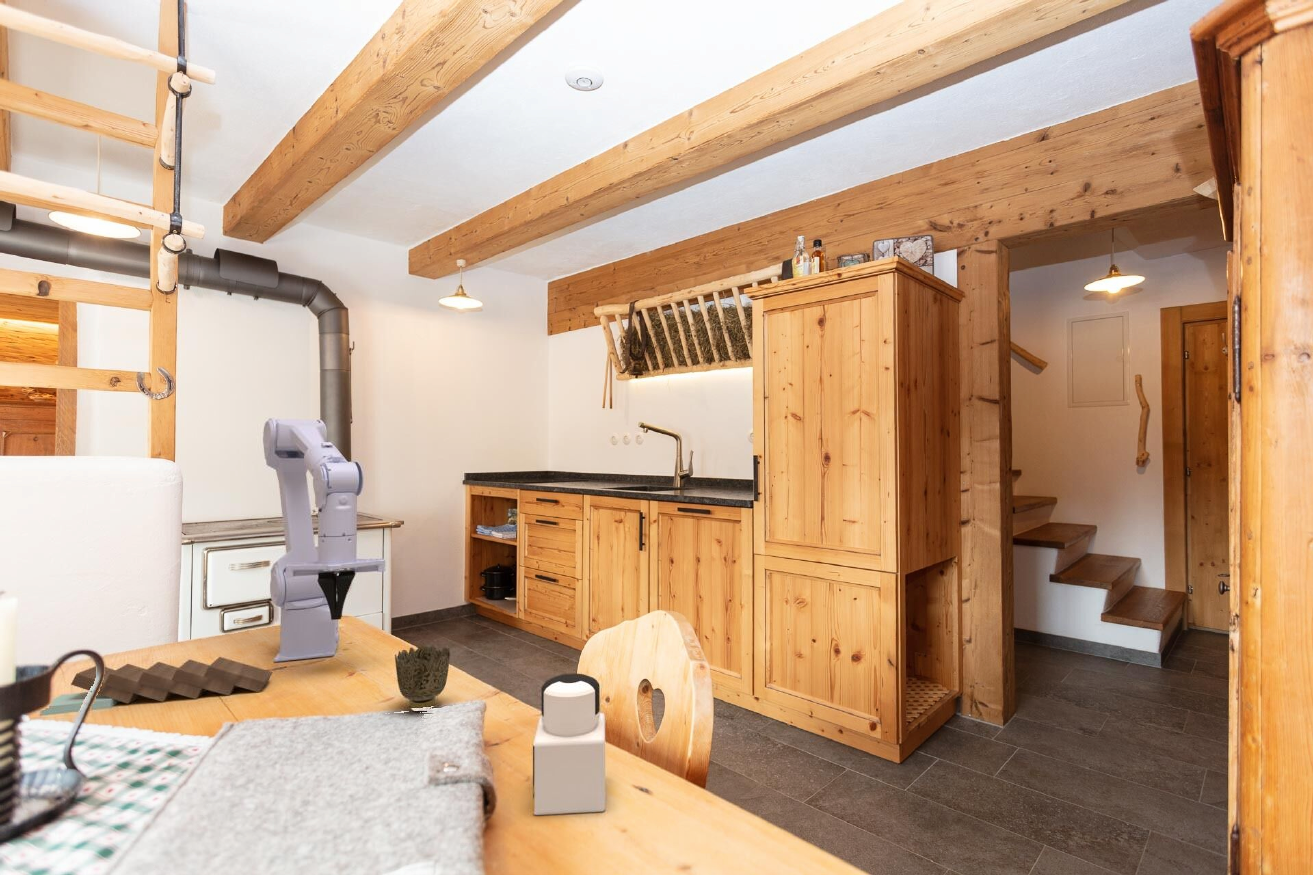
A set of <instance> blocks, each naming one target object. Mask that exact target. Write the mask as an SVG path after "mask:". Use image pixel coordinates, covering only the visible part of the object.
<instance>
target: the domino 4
mask: <svg viewBox="0 0 1313 875" xmlns="http://www.w3.org/2000/svg"><path fill="white" fill-rule="evenodd" d="M178 668H179V667H178V666H174V665H170V664H167V663H163V662H160V661H158V662H156V663H154V664H153V665H151V666H150V667H148V668H147V670H145V671H144V672H143V673H142V675H141V677H140V679H139V681H138V683H141V684H144V685H148V686H151V687H155V688H158V689H162V690H165V691H169V692H173V693H174V694H177V695H180V696H182V697H183V696H184V697H187V698H191V699H195V700H197V699H198V698H199V697H200V696H201V695H202V694H204V693H205V692H206V691H208V690H207V689H203V688H199V687H196V686H192V685H188V684H185V683H181V682H178V681H174V680H172V678H173V676H174V674H175V672H176V670H177V669H178Z"/></svg>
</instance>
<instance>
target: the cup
mask: <svg viewBox="0 0 1313 875" xmlns="http://www.w3.org/2000/svg"><path fill="white" fill-rule="evenodd" d="M451 652H452V649H451V647H448V646H447V645H444V646H443V647H442V649H437V646H436V645H434V644H432V645H431V646H430V647H429V646H428V645H424V644H421V645H419V647H418V648H417V649H415V648H413V647H410V648H409V652H408V651H407V650H405V649H403V650H401V651H400V650H399V651H398V654H396V653H395V655H394V660H395V669H396V678H397V679H396V680H397V684H398V688H399V691H400V694H401V695H402V697H403V698H405V699H406V700H409V701H408V702H409V703H408V707H409V709H410V708H423V707H431V706H435V707H436V704H437V697H438V696H439V695H441V693H442V692H443V691H444V689H445V687H446V684H447V680H448V675H449V668H450V658H451Z"/></svg>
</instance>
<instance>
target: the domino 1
mask: <svg viewBox="0 0 1313 875" xmlns="http://www.w3.org/2000/svg"><path fill="white" fill-rule="evenodd" d="M88 692H89V691H85V692H84V691H83V692H75V693H64V694H60V695H58V696H57V697H55V698H53V699H52V700H51V701H52V703H51V705H50V706H49V708H46V709H45V710H42V711H41V710H40V716H51V715H59V714H69V713H79V712H78V711H79V710H80V708H81V705H82V704H83V701H84V699H85V697H86V696H87V694H88ZM120 702H121V701H119V700H116V699H113V698H110V697H107V696H104V695H101V694H98V695H97V696H96V699H95V701H94V704H93V705H92V706H91V710H90V711H97V710H98V711H99V710H106V709H112V708H113V707H115V705H117V704H119V703H120Z"/></svg>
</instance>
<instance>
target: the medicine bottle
mask: <svg viewBox="0 0 1313 875" xmlns="http://www.w3.org/2000/svg"><path fill="white" fill-rule="evenodd" d="M600 685H601V684H600V683H599V681H597V679H596V678H594V677H592V676H589V675H586V674H585V673H584V674H583V673H563V674H559V675H556V676H553V677H551V678H549V679H547V680H546V681H545V682H544V683H543V684H542V686H541V702H540V703H541V704H540V706H541V716H539V718H538V723H537V726H536V732H535V736H534V739H533V742H532V813H533V815H535V816H541V815H542V816H546V815H563V814H565V815H566V814H579V813H580V814H581V813H582V814H583V813H598V812H599V813H600V812H604V811H605V810H606V714H605V713H603V712H601V710H600V709H601V704H600V701H601V697H600Z"/></svg>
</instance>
